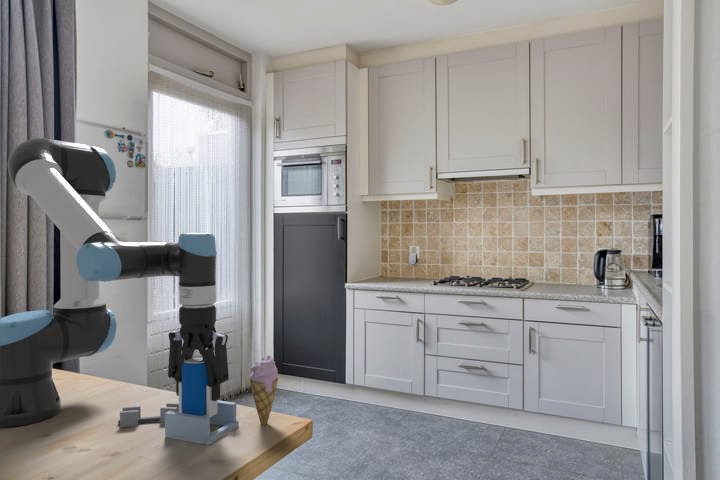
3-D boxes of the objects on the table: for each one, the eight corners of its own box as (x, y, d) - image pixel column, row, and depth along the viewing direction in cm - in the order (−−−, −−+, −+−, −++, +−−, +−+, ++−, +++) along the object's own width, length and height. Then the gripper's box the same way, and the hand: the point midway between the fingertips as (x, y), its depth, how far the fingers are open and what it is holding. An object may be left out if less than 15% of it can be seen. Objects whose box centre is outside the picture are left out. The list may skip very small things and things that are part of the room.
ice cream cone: (285, 424, 108) (285, 356, 108) (261, 432, 104) (261, 362, 104) (266, 416, 113) (267, 351, 113) (243, 424, 108) (243, 356, 108)
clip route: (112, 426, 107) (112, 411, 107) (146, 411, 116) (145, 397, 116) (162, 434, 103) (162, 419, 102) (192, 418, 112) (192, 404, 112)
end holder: (165, 437, 101) (165, 413, 101) (197, 419, 111) (197, 397, 111) (208, 445, 98) (208, 420, 98) (238, 425, 107) (238, 403, 107)
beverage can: (204, 421, 101) (203, 363, 101) (175, 419, 102) (175, 362, 102) (219, 410, 107) (219, 356, 107) (192, 408, 109) (192, 354, 108)
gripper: (148, 305, 104) (149, 413, 105) (225, 310, 98) (226, 425, 98) (173, 300, 111) (173, 402, 112) (246, 305, 105) (247, 412, 105)
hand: (198, 412), depth 105 cm, fingers closed on beverage can, 6 cm apart
